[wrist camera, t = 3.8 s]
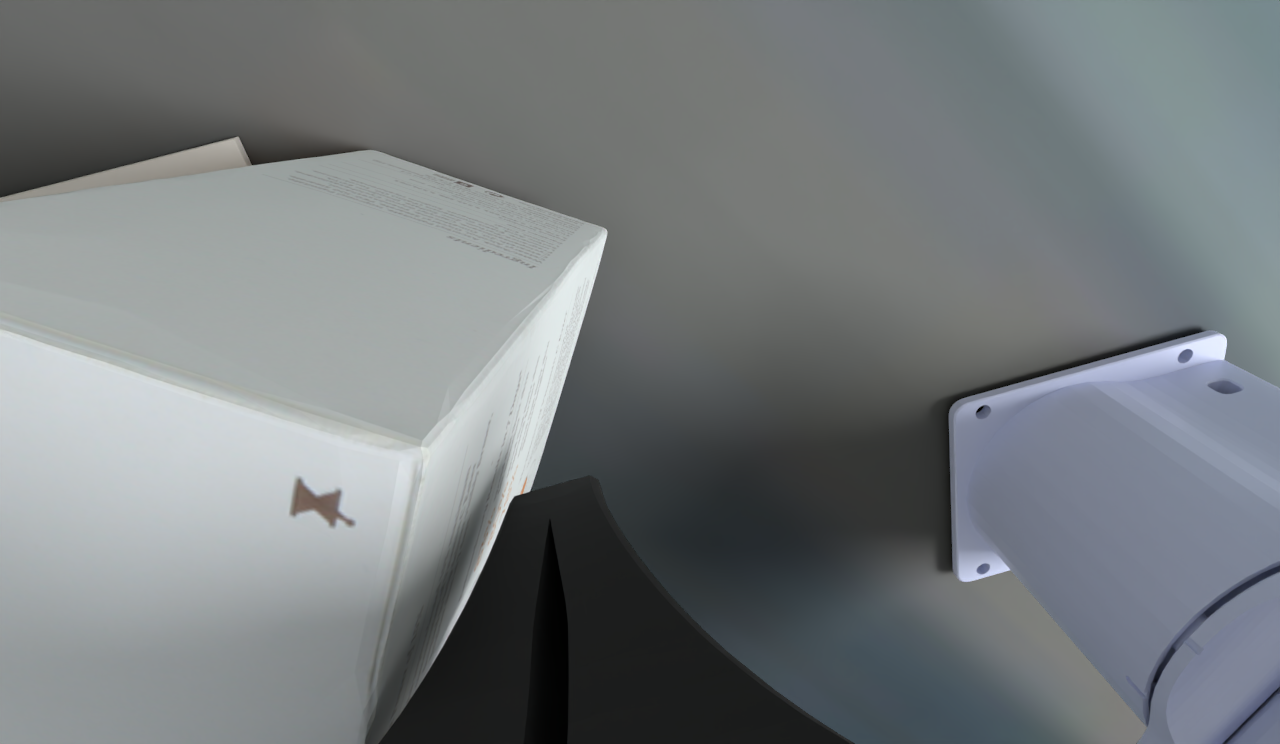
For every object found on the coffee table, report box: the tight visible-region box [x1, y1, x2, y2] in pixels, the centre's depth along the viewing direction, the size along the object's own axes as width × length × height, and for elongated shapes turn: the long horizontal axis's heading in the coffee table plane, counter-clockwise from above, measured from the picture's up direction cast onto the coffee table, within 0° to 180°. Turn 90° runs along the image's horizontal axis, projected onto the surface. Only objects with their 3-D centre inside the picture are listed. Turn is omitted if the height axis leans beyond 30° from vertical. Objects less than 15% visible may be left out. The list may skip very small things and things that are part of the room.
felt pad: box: [0, 137, 252, 202], centre depth 20 cm, size 13×12×1 cm
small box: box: [0, 150, 607, 744], centre depth 14 cm, size 8×6×13 cm
